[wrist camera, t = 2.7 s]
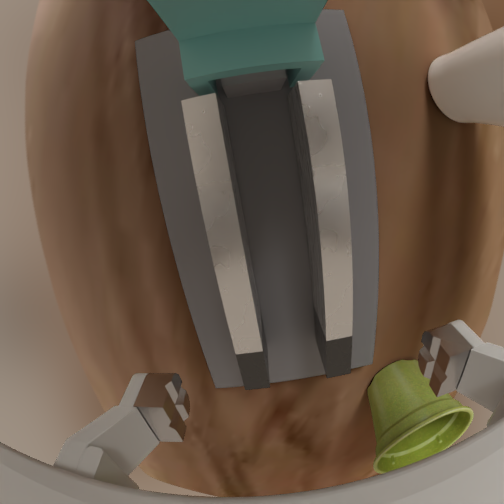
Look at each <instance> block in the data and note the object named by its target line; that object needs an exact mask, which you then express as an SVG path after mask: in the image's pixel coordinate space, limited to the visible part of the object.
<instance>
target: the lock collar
mask: <svg viewBox="0 0 504 504" xmlns="http://www.w3.org/2000/svg"><path fill="white" fill-rule="evenodd" d="M147 1H148V2H149V3H150V5H151V6H152V7H153V8H154V10H155V11H156V12H157V14H158V15H159V16H160V17H161V19H162V20H163V21H164V23H165V24H166V25H167V27H168V28H169V29H170V31H171V32H172V33H173V35H174V36H175V37H176V39H177V40H178V41H179V47H180V54H181V61H182V67H183V74H184V80H185V81H186V82H187V83H188V84H189V86H190V87H191V88H192V89H193V90H194V91H195V92H196V93H197V94H198V95H199V96H203V95H207V94H212V93H216V94H217V96H218V91H217V85H216V79H221V78H226V77H232V76H238V75H244V74H251V73H258V72H265V71H274V70H283V69H286V72H287V77H288V82H289V87H294V86H295V84H296V83H297V81H305V80H309V79H310V78H311V77H312V76H313V75H314V74H315V72H316V71H317V70H318V69H319V68H320V65H321V64H322V63H323V62H324V61H325V60H324V56H323V51H322V47H321V43H320V39H319V35H318V31H317V27H316V24H315V22H316V21H317V19H318V17H319V15H320V13H321V11H322V9H323V8H324V6H325V4H326V2H327V0H147ZM218 97H219V96H218Z"/></svg>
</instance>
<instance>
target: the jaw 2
mask: <svg viewBox="0 0 504 504" xmlns="http://www.w3.org/2000/svg"><path fill="white" fill-rule="evenodd" d="M287 100H288V106H289V112H290V117H291V123H292V129H293V135H294V142H295V148H296V154H297V161H298V168H299V175H300V182H301V190H302V197H303V205H304V213H305V222H306V231H307V240H308V249H309V259H310V270H311V281H312V293H313V309H314V323H315V340H316V343H317V346H318V350H319V353H320V357H321V360H322V363H323V367H324V370H325V374H326V377H327V378H330V377H335V376H340V375H345V374H349V373H351V358H352V326H353V271H352V244H351V226H350V211H349V199H348V188H347V178H346V169H345V161H344V153H343V145H342V138H341V131H340V125H339V119H338V113H337V107H336V101H335V96H334V90H333V85H332V80H331V79H322V80H305V81H297V83H296V84H295V86H294V87H293V89H292V90H291V92H290V93H289V95H288V96H287Z"/></svg>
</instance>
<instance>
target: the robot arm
mask: <svg viewBox="0 0 504 504" xmlns="http://www.w3.org/2000/svg"><path fill="white" fill-rule="evenodd" d="M421 342H422V343H423V345H424V346H423V347H422V348H421V350H420V351H419V355H418V365H419V369H420V371H421V373H422V375H423V376H424V377H426V378H428V379H430V381H429V386H430V387H431V389H432V391H433V392H434V394H435V395H436V397H439V396H442V395H445V394H447V393H450V392H452V391H454V390H456V391H457V392H459V393H461V394H463V395H464V396H466V397H468V398H470V399H471V400H473V401H475V402H477V403H478V404H480V405H482V406H484V407H485V408H487V409H489V410H490V411H492V412H493V414H492V416H491V417H490V419H489V421H488V423H487V428H485V429H483V430H482V431H480V432H478V433H476V434H474V435H473V436H471V437H469V438H467V439H465V440H463V441H461V442H459V443H457V444H455V445H453V446H451V447H449V448H447V449H445V450H443V451H441V452H438V453H436V454H434V455H432V456H429V457H427V458H424V459H422V460H420V461H417V462H414V463H412V464H409V465H406V466H404V467H401V468H398V469H395V470H392V471H389V472H386V473H383V474H380V475H376V476H373V477H369V478H366V479H362V480H358V481H354V482H350V483H346V484H342V485H337V486H332V487H327V488H322V489H316V490H310V491H304V492H297V493H289V494H279V495H268V496H252V497H204V496H188V495H175V494H167V493H159V492H152V491H146V490H140V489H139V487H138V485H137V484H136V483H135V482H134V481H133V480H132V479H131V478H129V476H128V475H129V474H130V473H131V472H132V471H133V470H134V469H135V468H136V467H137V466H138V465H139V464H140V463H141V462H142V461H143V460H144V459H145V458H146V457H147V456H148V455H149V454H150V452H151V451H152V450H153V449H154V448H155V447H156V446H157V445H158V444H159V443H160V442H159V441H165V442H183V441H184V436H185V432H186V425H185V423H184V420H186V419H187V418H188V417H189V412H190V401H189V397H188V394H187V392H186V390H184V389H183V388H181V383H182V381H181V378H180V376H179V374H176V373H136V374H134V375H133V376H132V378H131V380H130V382H129V385H128V387H127V389H126V391H125V393H124V395H123V397H122V399H121V402H120V404H119V406H114V407H112V408H111V409H109V410H108V411H107V412H105V413H104V414H102V415H101V416H100V417H98V418H97V419H95V420H94V421H92V422H91V423H90V424H88V425H87V426H85V427H84V428H82V429H81V430H80V431H78V432H76V433H75V434H74V435H72V436H70V437H69V438H67V440H66V441H65V443H64V445H63V447H62V449H61V451H60V453H59V455H58V457H57V459H56V461H55V463H54V465H53V466H52V465H49V464H46V463H44V462H41V461H39V460H37V459H34V458H32V457H30V456H28V455H25V454H23V453H21V452H19V451H17V450H15V449H12V448H11V447H9V446H7V445H5V444H3V443H1V442H0V504H504V347H502V346H499V345H496V344H492V343H489V342H487V343H484V342H483V341H482V340H481V339H480V338H479V337H478V336H477V335H476V334H475V333H474V332H473V331H472V330H471V329H470V328H469V327H468V326H467V325H466V324H465V323H464V322H463V321H462V320H456V321H453V322H450V323H448V324H446V325H443V326H440V327H437V328H434V329H431V330H428V331H425V332H424V333H423V335H422V340H421Z"/></svg>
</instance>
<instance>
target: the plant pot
mask: <svg viewBox="0 0 504 504" xmlns="http://www.w3.org/2000/svg"><path fill="white" fill-rule="evenodd" d="M429 381H430V379H428V378H426V377H424V376H423V375H422V373H421V371H420V369H419V365H418V361H417V360H399V361H396V362H394V363H392V364H390V365H388V366H386V367H385V368H383V369H382V370H381V371H380V372H378V373H377V374H376V375H375V376H374V379H373V381H372V383H371V385H370V386H369V387H368V390H367V393H368V398H369V403H370V408H371V413H372V418H373V424H374V430H375V436H376V442H377V445H376V458H375V460H374V463H373V467H374V470H375V471H376V472H377V473H382V474H383V473H386V472H389V471H392V470H395V469H398V468H401V467H404V466H406V465H409V464H412V463H414V462H417V461H420V460H422V459H424V458H427V457H429V456H432V455H434V454H436V453H438V452H441V451H443V450H445V449H447V448H448V447H449V446H451V445H452V444H453V443H454V442H455V441H456V440H458V438H459V437H460V436H462V434H463V433H464V432H465V431H466V430H467V428H468V427H469V425H470V424H471V422H472V420H473V416H474V414H473V411H472V409H471V408H469V407H467V406H462V404H461V403H459V401H457V400H454V399H453V398H452V397H451V396H450V395H449V394H448V393H447V394H445V395H442V396H439V397H436V395H435V394H434V392H433V391H432V389H431V387H430V386H429Z"/></svg>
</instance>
